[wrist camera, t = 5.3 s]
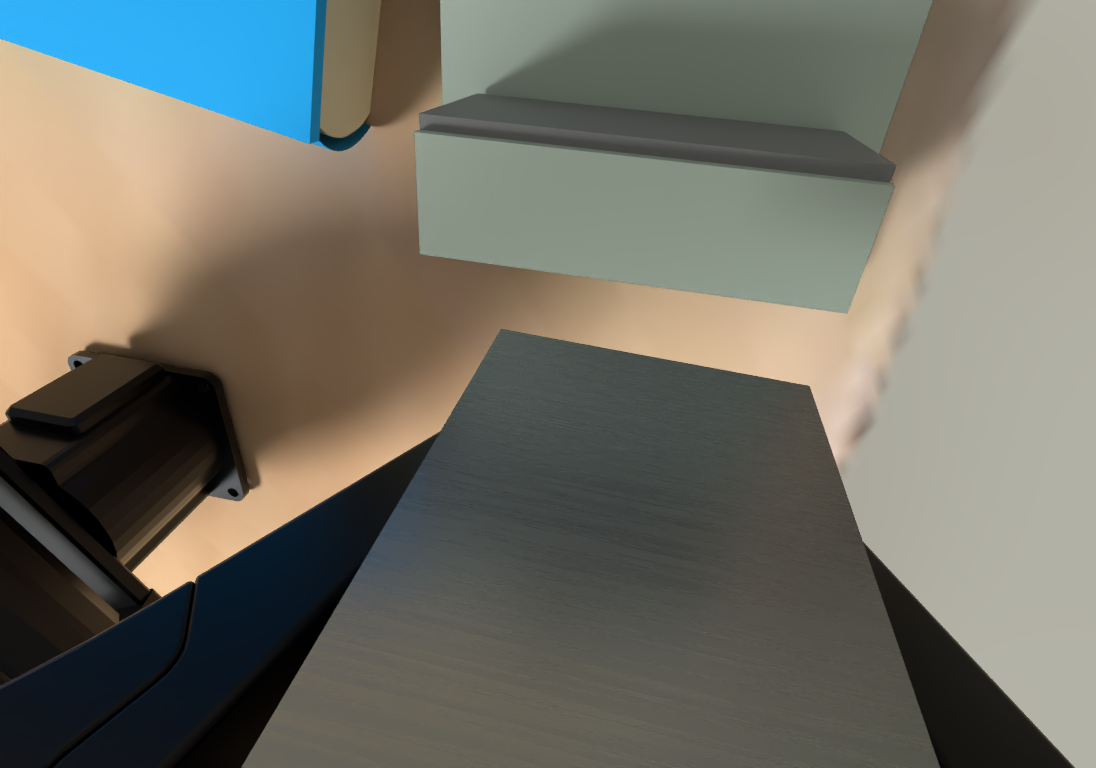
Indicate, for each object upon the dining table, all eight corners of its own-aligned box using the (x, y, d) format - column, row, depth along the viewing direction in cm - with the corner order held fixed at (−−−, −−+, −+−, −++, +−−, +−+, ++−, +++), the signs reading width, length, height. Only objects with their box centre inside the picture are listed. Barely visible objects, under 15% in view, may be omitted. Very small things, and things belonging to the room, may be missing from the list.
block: (743, 550, 9) (815, 1209, 4) (489, 495, 9) (270, 1029, 4) (809, 385, 7) (1069, 1144, 2) (501, 329, 8) (178, 872, 3)
